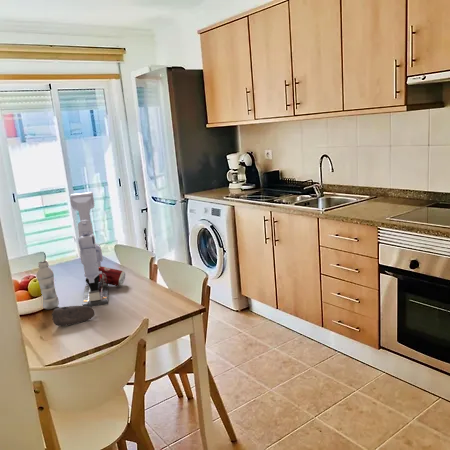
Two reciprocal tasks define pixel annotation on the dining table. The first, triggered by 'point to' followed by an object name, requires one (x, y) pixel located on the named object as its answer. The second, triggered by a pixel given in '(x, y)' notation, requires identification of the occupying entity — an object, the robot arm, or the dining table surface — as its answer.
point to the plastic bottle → (47, 285)
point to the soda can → (111, 276)
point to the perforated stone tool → (72, 315)
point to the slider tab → (94, 295)
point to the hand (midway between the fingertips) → (95, 293)
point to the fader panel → (103, 296)
